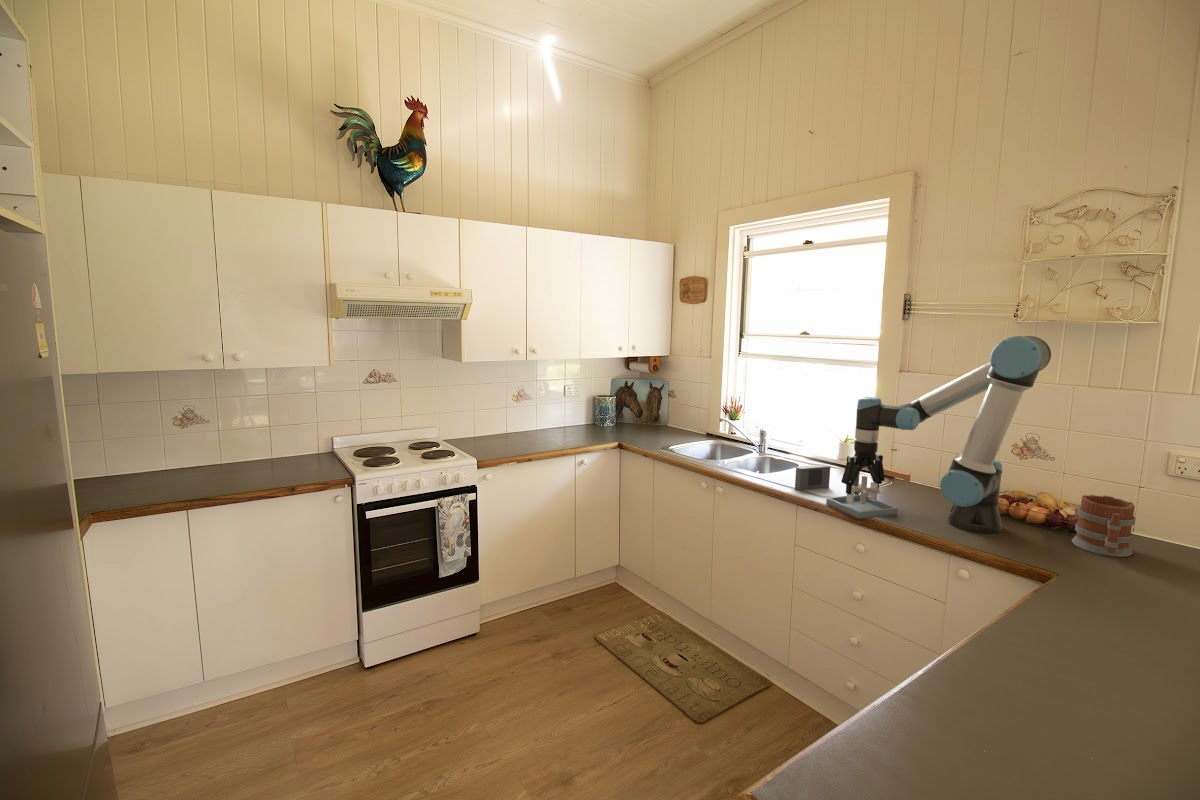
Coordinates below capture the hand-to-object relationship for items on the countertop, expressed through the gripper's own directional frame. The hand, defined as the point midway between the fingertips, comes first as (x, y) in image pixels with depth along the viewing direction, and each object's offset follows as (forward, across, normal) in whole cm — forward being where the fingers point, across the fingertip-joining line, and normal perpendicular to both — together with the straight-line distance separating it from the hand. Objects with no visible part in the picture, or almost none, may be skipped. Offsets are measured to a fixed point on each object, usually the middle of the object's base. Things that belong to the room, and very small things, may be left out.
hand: (861, 501), depth 206 cm
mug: (+3, -44, +50) cm, 67 cm away
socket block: (+3, 0, -27) cm, 27 cm away
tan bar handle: (-6, -13, -7) cm, 16 cm away
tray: (+3, 0, 0) cm, 3 cm away
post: (+3, -11, -16) cm, 20 cm away
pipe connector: (+1, 0, 0) cm, 1 cm away
